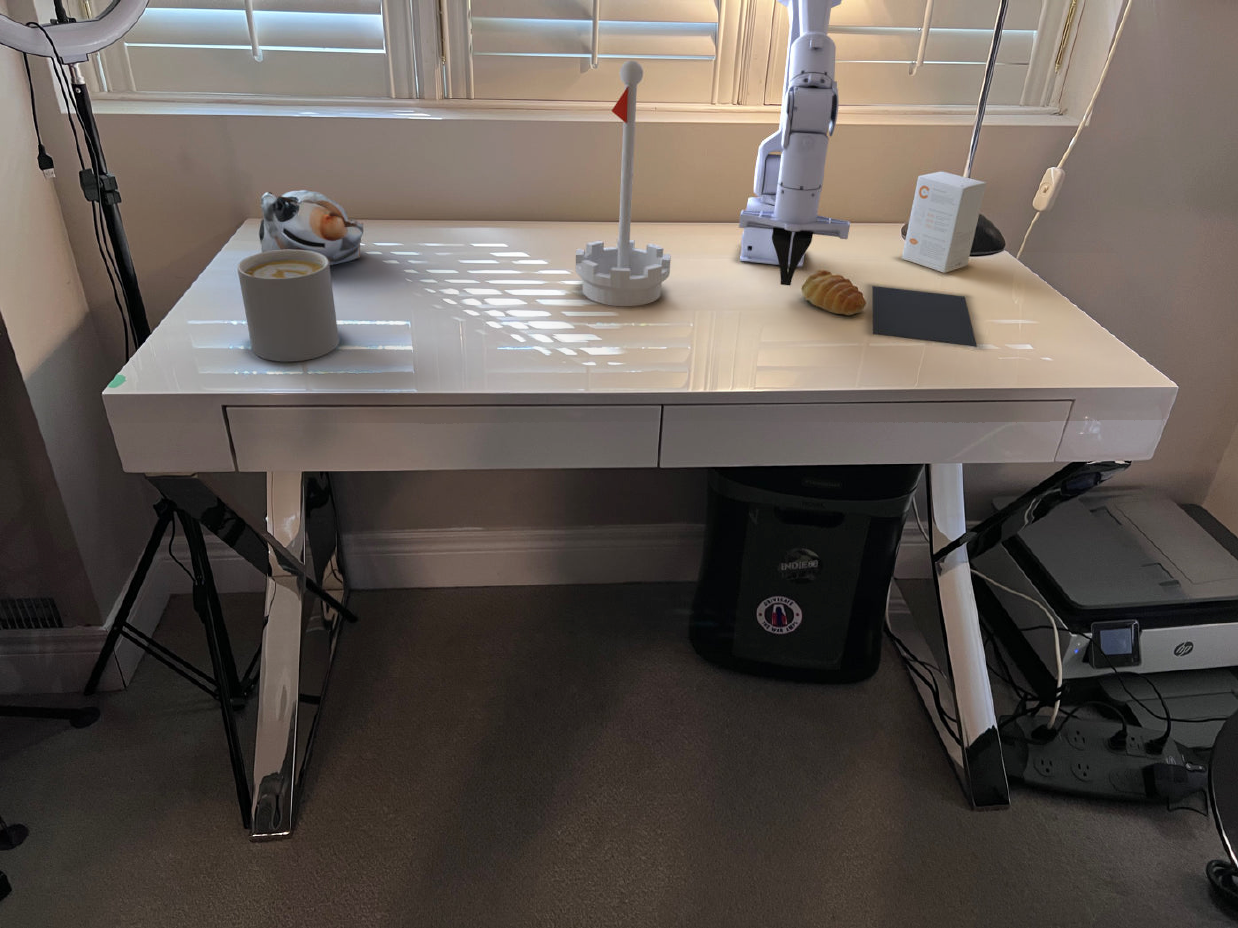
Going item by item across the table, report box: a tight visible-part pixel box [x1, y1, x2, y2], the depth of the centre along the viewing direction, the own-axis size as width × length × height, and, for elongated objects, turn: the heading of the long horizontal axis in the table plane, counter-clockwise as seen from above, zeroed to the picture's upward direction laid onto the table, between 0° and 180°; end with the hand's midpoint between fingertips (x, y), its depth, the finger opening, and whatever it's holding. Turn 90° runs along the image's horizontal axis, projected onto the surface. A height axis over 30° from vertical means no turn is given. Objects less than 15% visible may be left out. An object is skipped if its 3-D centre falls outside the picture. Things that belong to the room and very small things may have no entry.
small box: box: [901, 170, 987, 274], centre depth 143 cm, size 8×6×13 cm
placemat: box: [872, 285, 978, 347], centre depth 128 cm, size 13×18×1 cm
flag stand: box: [575, 60, 672, 307], centre depth 123 cm, size 13×13×30 cm
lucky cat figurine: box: [258, 189, 364, 266], centre depth 131 cm, size 15×12×14 cm
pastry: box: [800, 269, 867, 316], centre depth 128 cm, size 9×7×4 cm
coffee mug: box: [237, 249, 340, 363], centre depth 111 cm, size 13×10×10 cm
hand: (785, 283), depth 130 cm, fingers closed
